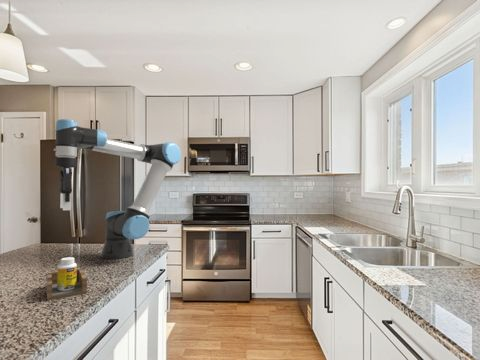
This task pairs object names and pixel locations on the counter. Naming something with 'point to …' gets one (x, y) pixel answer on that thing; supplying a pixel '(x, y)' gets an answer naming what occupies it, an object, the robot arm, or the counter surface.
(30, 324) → the counter surface
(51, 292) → the walnut u rest
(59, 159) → the robot arm
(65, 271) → the supplement bottle
